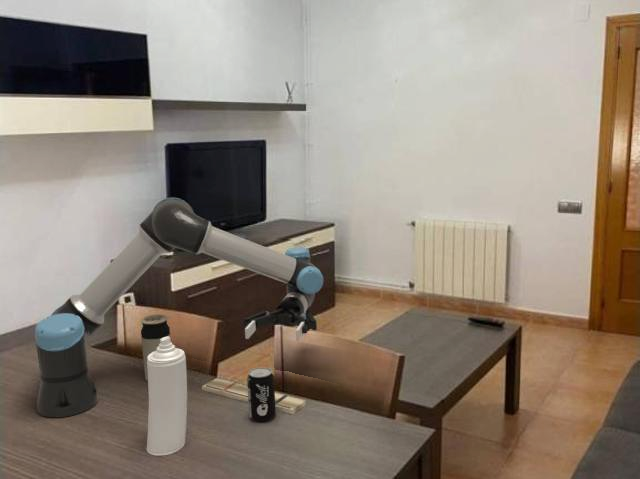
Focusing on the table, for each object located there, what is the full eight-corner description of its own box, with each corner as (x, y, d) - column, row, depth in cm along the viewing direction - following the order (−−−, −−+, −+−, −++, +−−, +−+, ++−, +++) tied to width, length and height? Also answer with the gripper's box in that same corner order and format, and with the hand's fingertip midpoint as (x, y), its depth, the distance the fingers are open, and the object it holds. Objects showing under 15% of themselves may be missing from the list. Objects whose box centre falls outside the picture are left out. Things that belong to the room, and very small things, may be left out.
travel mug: (139, 378, 179) (134, 319, 175) (162, 369, 185) (157, 312, 181) (156, 385, 174) (150, 325, 170) (179, 376, 180) (174, 317, 176)
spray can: (143, 434, 147) (134, 335, 142) (188, 425, 151) (180, 328, 146) (148, 459, 136) (138, 352, 131) (196, 448, 140) (188, 344, 135)
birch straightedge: (292, 414, 155) (292, 409, 154) (202, 390, 170) (202, 385, 170) (305, 404, 160) (305, 400, 159) (216, 381, 175) (216, 377, 175)
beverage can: (281, 416, 154) (279, 370, 152) (261, 426, 149) (259, 379, 147) (263, 408, 159) (261, 364, 156) (243, 417, 154) (241, 372, 151)
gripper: (334, 322, 177) (319, 350, 157) (251, 320, 183) (226, 346, 162) (333, 297, 176) (318, 321, 156) (249, 295, 181) (224, 319, 161)
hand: (271, 334), depth 159 cm, fingers open, 13 cm apart
